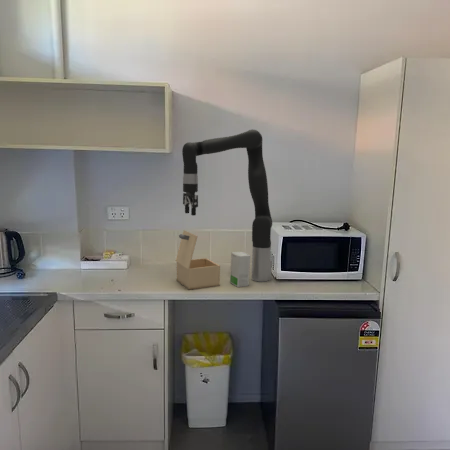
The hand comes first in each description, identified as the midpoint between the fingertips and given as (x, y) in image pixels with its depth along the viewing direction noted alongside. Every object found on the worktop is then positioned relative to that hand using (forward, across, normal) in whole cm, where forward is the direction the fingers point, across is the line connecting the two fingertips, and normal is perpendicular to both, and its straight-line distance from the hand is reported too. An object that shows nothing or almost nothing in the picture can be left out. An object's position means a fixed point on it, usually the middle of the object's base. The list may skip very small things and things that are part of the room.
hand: (190, 214), depth 210 cm
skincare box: (+32, -25, -16) cm, 44 cm away
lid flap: (+14, -15, +8) cm, 22 cm away
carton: (+32, -15, +2) cm, 35 cm away
